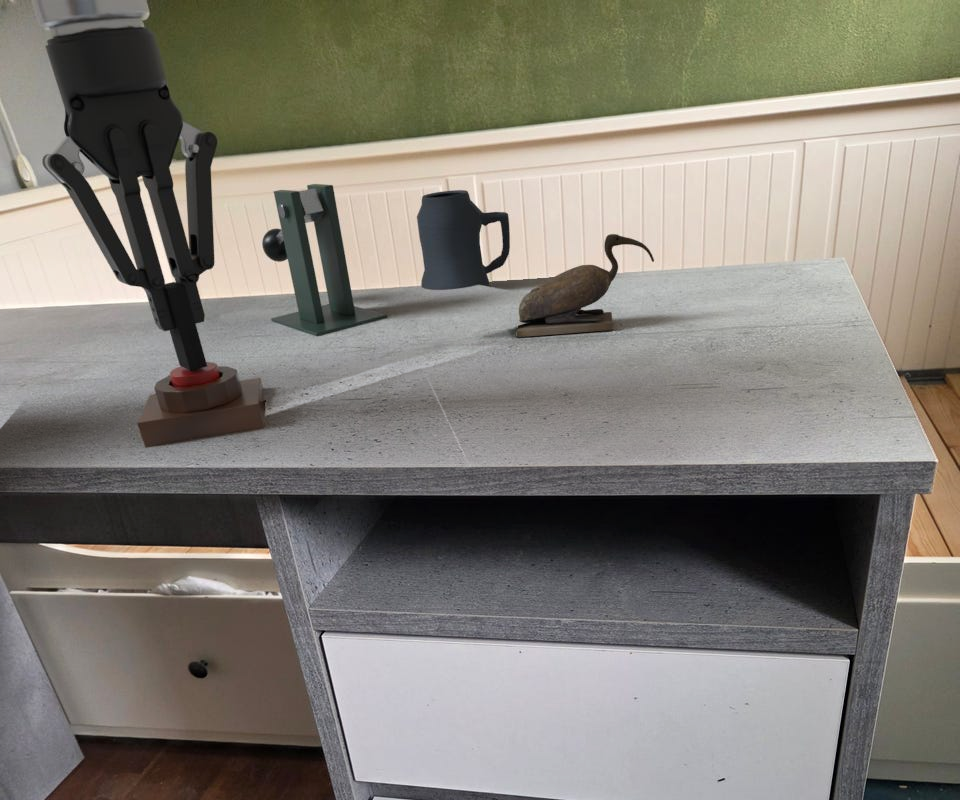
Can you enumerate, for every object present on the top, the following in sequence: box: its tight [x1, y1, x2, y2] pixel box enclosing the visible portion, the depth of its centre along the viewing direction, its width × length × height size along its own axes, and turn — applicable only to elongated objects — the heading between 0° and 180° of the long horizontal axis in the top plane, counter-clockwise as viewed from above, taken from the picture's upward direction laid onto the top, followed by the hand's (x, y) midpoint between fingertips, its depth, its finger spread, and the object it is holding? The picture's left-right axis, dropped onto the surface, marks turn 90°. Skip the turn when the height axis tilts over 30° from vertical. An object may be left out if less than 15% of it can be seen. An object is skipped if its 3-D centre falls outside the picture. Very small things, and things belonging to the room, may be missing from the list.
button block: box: [137, 365, 267, 448], centre depth 76 cm, size 10×8×4 cm
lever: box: [262, 188, 323, 263], centre depth 100 cm, size 14×4×4 cm, turn 36°
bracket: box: [270, 183, 388, 337], centre depth 98 cm, size 12×9×15 cm
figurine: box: [515, 233, 655, 338], centre depth 89 cm, size 14×4×9 cm, turn 84°
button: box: [169, 361, 220, 387], centre depth 75 cm, size 4×4×2 cm
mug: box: [416, 189, 511, 291], centre depth 109 cm, size 12×9×11 cm
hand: (193, 365), depth 75 cm, fingers closed
